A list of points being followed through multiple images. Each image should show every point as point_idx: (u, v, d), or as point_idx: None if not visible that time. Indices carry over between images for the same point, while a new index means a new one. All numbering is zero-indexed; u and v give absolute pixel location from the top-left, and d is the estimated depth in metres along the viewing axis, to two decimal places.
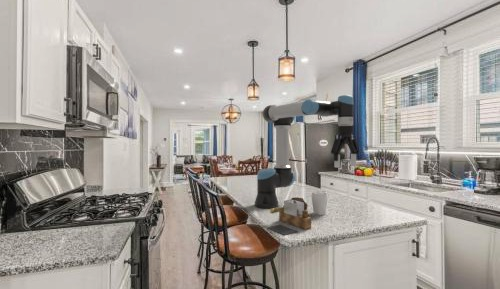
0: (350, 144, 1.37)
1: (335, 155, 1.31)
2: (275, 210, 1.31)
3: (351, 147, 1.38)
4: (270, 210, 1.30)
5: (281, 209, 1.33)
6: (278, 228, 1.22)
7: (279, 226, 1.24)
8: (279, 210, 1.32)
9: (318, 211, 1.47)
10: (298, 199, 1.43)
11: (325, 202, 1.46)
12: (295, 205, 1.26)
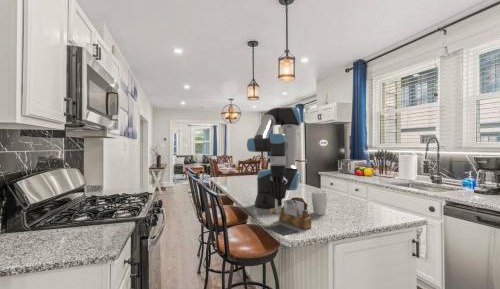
0: None
1: None
2: None
3: None
4: (270, 210, 1.30)
5: (281, 209, 1.33)
6: (278, 228, 1.22)
7: (279, 226, 1.24)
8: None
9: (318, 211, 1.47)
10: (298, 199, 1.43)
11: (325, 202, 1.46)
12: (295, 205, 1.26)
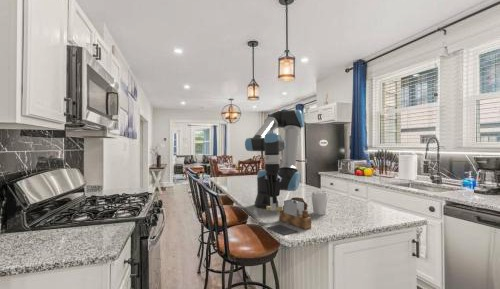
0: None
1: None
2: None
3: None
4: (266, 207, 1.36)
5: (278, 208, 1.35)
6: (278, 228, 1.22)
7: (279, 226, 1.24)
8: (276, 209, 1.35)
9: (318, 211, 1.47)
10: (298, 199, 1.43)
11: (325, 202, 1.46)
12: (295, 205, 1.26)
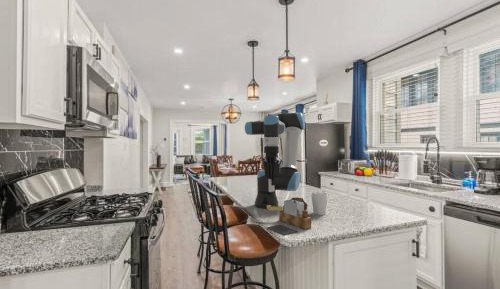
0: None
1: None
2: (271, 207, 1.37)
3: None
4: None
5: (278, 208, 1.36)
6: (278, 228, 1.22)
7: (279, 226, 1.24)
8: (276, 208, 1.36)
9: (318, 211, 1.47)
10: (298, 199, 1.43)
11: (325, 202, 1.46)
12: (295, 205, 1.26)
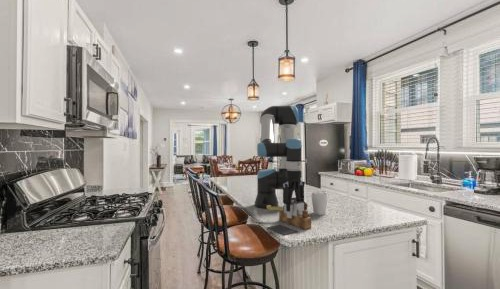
0: (297, 190, 1.31)
1: (287, 205, 1.27)
2: (271, 207, 1.37)
3: (297, 194, 1.31)
4: None
5: (278, 208, 1.36)
6: (278, 228, 1.22)
7: (279, 226, 1.24)
8: (276, 208, 1.36)
9: (318, 211, 1.47)
10: None
11: (325, 202, 1.46)
12: (295, 205, 1.26)
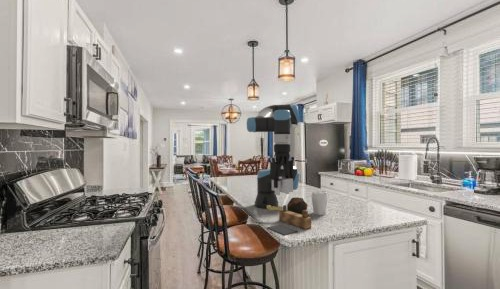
0: (285, 165, 1.21)
1: (275, 181, 1.18)
2: (271, 207, 1.37)
3: (285, 170, 1.22)
4: None
5: (278, 208, 1.36)
6: (278, 228, 1.22)
7: (279, 226, 1.24)
8: (276, 208, 1.36)
9: (318, 211, 1.47)
10: (298, 199, 1.43)
11: (325, 202, 1.46)
12: (283, 181, 1.16)
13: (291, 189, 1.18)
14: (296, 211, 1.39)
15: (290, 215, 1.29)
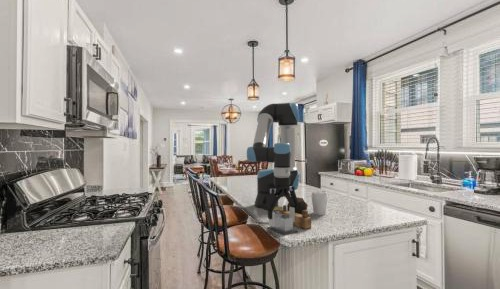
0: (287, 197, 1.22)
1: (269, 212, 1.16)
2: None
3: (289, 200, 1.23)
4: None
5: (278, 208, 1.36)
6: None
7: None
8: (276, 208, 1.36)
9: (318, 211, 1.47)
10: (298, 199, 1.43)
11: (325, 202, 1.46)
12: (283, 220, 1.17)
13: (291, 228, 1.18)
14: (296, 211, 1.39)
15: None
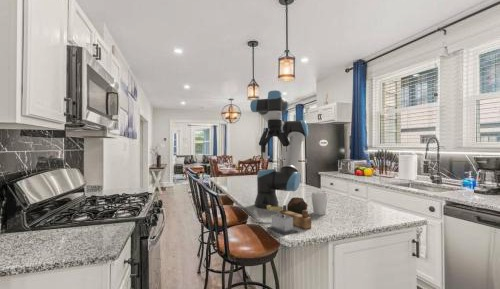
0: (280, 137, 1.45)
1: (262, 147, 1.38)
2: (271, 207, 1.37)
3: (281, 140, 1.46)
4: None
5: (278, 208, 1.36)
6: None
7: None
8: (276, 208, 1.36)
9: (318, 211, 1.47)
10: (298, 199, 1.43)
11: (325, 202, 1.46)
12: (283, 220, 1.17)
13: (291, 228, 1.18)
14: (296, 211, 1.39)
15: (290, 215, 1.29)
